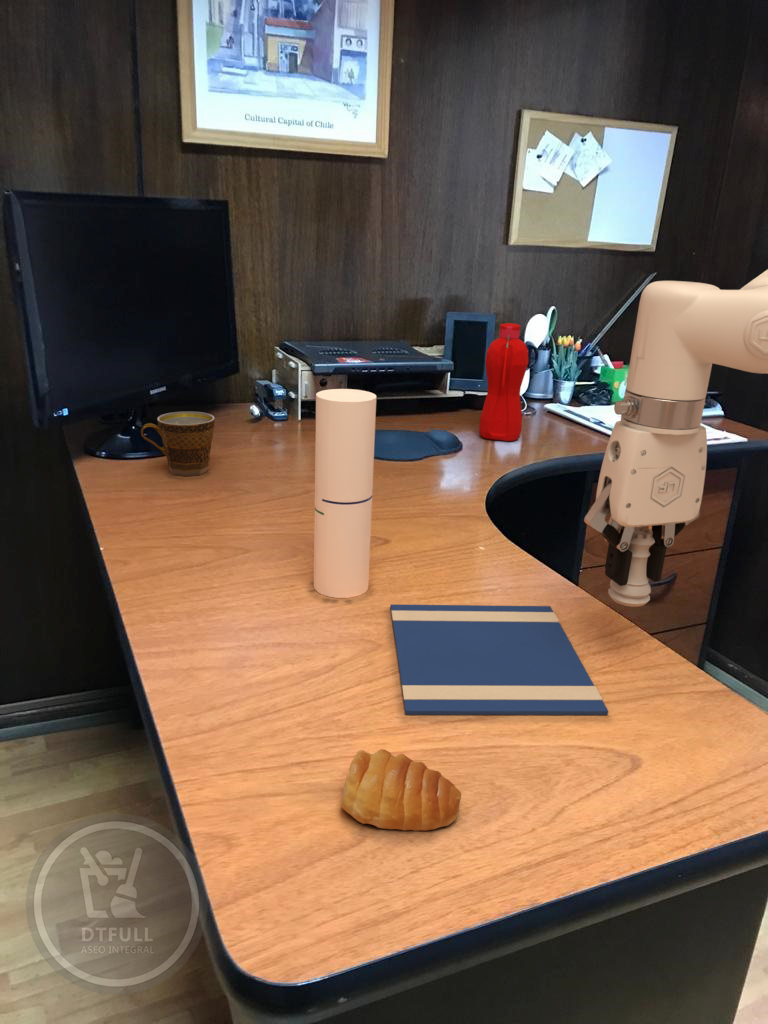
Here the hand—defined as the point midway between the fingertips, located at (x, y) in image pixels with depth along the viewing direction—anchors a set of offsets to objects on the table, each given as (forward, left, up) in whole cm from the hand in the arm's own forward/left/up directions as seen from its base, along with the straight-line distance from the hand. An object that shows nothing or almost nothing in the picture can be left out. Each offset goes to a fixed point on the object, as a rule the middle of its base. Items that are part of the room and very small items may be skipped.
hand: (632, 576), depth 83 cm
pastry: (+27, +23, -10) cm, 37 cm away
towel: (+15, 0, -10) cm, 18 cm away
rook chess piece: (0, 0, -3) cm, 3 cm away
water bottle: (-5, -93, -10) cm, 94 cm away
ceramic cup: (+60, -63, -10) cm, 88 cm away
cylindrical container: (+31, -17, -10) cm, 37 cm away
